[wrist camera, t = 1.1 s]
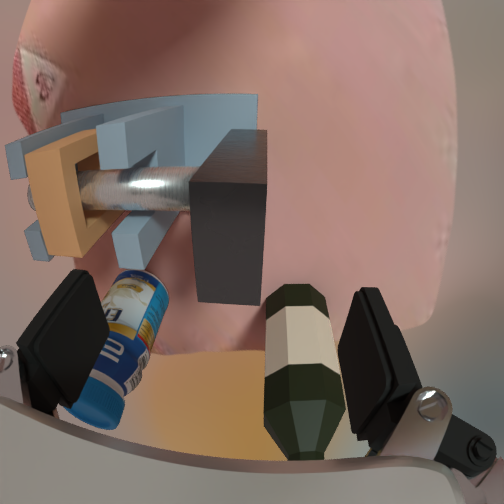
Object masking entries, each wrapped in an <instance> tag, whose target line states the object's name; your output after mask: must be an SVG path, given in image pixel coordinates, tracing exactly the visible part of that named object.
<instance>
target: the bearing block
mask: <svg viewBox="0 0 504 504" xmlns="http://www.w3.org/2000/svg"><path fill="white" fill-rule="evenodd" d="M257 106H258V94H194V95H177V96H163V97H153V98H143V99H135V100H127V101H120V102H113V103H107V104H101V105H95V106H90V107H85V108H80V109H75V110H70V111H66V112H62V113H61V124H60V125H57V126H54V127H51V128H48V129H45V130H42V131H39V132H37V133H34V134H31V135H29V136H26V137H24V138H21V139H19V140H16V141H14V142H11V143H9V144H7V145H5V148H6V155H7V161H8V167H9V172H10V177H11V180H13V179H20V178H27V177H28V173H27V168H26V162H25V156H24V155H26V154H28V153H30V152H32V151H34V150H36V149H39V148H41V147H43V146H45V145H48V144H50V143H52V142H55V141H57V140H60V139H62V138H65V137H67V136H70V135H72V134H75V133H77V132H80V131H83V130H90V129H96V133H97V143H98V152H99V161H100V169H101V170H109V169H127V168H132V167H160V166H201V165H202V164H203V162H204V161H205V160H206V159H207V157H208V156H209V155H210V154H211V153H212V151H213V150H214V149H215V148H216V146H217V145H218V144H219V143H220V142H221V140H222V139H223V138H224V137H225V136H226V134H227V133H228V132H229V131H230V130H231V129H254V130H257ZM75 169H76V171H78V166H77V163H76V164H75ZM179 212H180V211H154V210H132V211H131V212H130V213H129V214H128V216H127V217H126V218H125V219H124V220H123V221H122V222H121V223H120V224H119V225H118V227H117V228H116V229H115V230H114V231H113V232H112V238H113V243H114V247H115V251H116V256H117V260H118V264H119V268H126V269H138V270H145V268H146V266H147V265H148V263H149V261H150V259H151V258H152V256H153V254H154V253H155V251H156V249H157V247H158V246H159V244H160V242H161V241H162V239H163V237H164V236H165V234H166V233H167V231H168V229H169V228H170V226H171V224H172V223H173V221H174V220H175V218H176V216H177V215H178V213H179ZM24 232H25V236H26V239H27V242H28V245H29V248H30V251H31V254H32V257H33V259H34V260H38V261H48V262H49V261H50V260H51V259H52V258H53V257H54V256H55V255H49V254H48V251H47V248H46V245H45V241H44V238H43V235H42V231H41V228H40V224H39V221H38V220H36V221H35V222H34V223H33V224H32V225H30V226H29V227H28V228H27V229H26V230H24Z"/></svg>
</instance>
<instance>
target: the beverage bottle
mask: <svg viewBox="0 0 504 504" xmlns="http://www.w3.org/2000/svg"><path fill="white" fill-rule="evenodd" d="M168 303H169V295H168V291H167V289H166V287H165V286H164V284H163V283H162V282H161V281H160V280H159V279H158V278H157V277H156V276H155V275H153V274H151V273H149V272H147V271H144V270H138V269H128V270H125V271H123V272H122V273H120V274H119V275H118V277H117V278H116V280H115V281H114V283H113V285H112V286H111V288H110V290H109V291H108V293H107V294H106V296H105V297H104V299H103V301H102V302H101V305H102V308H103V311H104V314H105V316H106V319H107V322H108V325H109V328H110V333H109V337H108V339H107V341H106V342H105V344H104V346H103V348H102V350H101V352H100V354H99V356H98V358H97V360H96V363H95V365H94V367H93V369H92V371H91V373H90V375H89V377H88V379H87V381H86V384H85V386H84V388H83V390H82V392H81V394H80V397H79V399H78V401H77V402H76V403H74V404H73V406H72V408H71V409H69V408H66V407H64V408H65V409H66V410H67V411H68V412H69V413H71V414H72V415H73V416H75V417H76V418H78V419H80V420H81V421H83V422H85V423H87V424H90V425H92V426H95V427H97V428H101V429H106V430H113V429H116V427H117V426H118V424H119V422H120V419H121V416H122V413H123V410H124V406H125V400H124V396H126V395H127V394H129V393H130V392H131V391H132V390H134V389H135V388H136V386H137V385H138V384H139V383H140V381H141V378H142V370H143V369H144V368H145V367H146V366H147V364H148V361H149V358H150V352H151V349H152V346H153V343H154V341H155V338H156V335H157V332H158V329H159V327H160V324H161V321H162V319H163V316H164V313H165V311H166V309H167V306H168Z"/></svg>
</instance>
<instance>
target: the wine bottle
mask: <svg viewBox="0 0 504 504" xmlns="http://www.w3.org/2000/svg"><path fill="white" fill-rule="evenodd" d="M264 385H265V386H264V427H265V428H266V430H267V431H268V433H269V434H270V435H271V437H272V439H273V440H274V441H275V443H276V444H277V445H278V447H279V448H280V450H281V451H282V452H283V454H284V455H285V457H286V458H287V459H288V461H308V460H324V452H325V450H326V448H327V446H328V444H329V443H330V441H331V439H332V437H333V435H334V433H335V431H336V428H337V427H338V425H339V422H340V420H341V418H342V416H343V414H344V412H345V410H346V408H345V401H344V395H343V389H342V383H341V377H340V371H339V365H338V360H337V355H336V349H335V344H334V339H333V334H332V329H331V324H330V319H329V314H328V309H327V305H326V300H325V297H324V296H323V295H322V294H321V293H319V292H318V291H317V290H316V289H315V288H314V287H312V286H311V285H310V284H284V285H283V286H281V287H280V288H279V289H277V290H276V291H275V292H274V293H272V294H271V295H270V296H268V297H267V298H266V345H265V384H264Z"/></svg>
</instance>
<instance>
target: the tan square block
mask: <svg viewBox="0 0 504 504" xmlns="http://www.w3.org/2000/svg"><path fill="white" fill-rule="evenodd" d="M24 156H25V162H26V168H27V173H28V178H29V183H30V188H31V192H32V197H33V201H34V205H35V209H36V213H37V217H38V221H39V224H40V228H41V231H42V235H43V238H44V241H45V245H46V248H47V251H48V254H49V255H55V256H68V257H80V258H83V256H84V255H85V254H86V253H87V252H88V251H89V249H90V248H91V247H92V246H93V245H94V244H95V243H96V241H97V240H98V239H99V238H100V237H101V236H102V235H103V234H104V233H105V231H106V230H107V229H108V228H109V227H110V226H111V225H112V224H113V223H114V222H115V221H116V220H117V219H118V217H119V216H120V215H121V214H122V213H123V212H124V211H125V210H83V208H82V203H81V198H80V192H79V187H78V181H77V175H76V169H75V164H76V163H77V166H78V171H86V170H98V169H100V161H99V152H98V143H97V133H96V129H90V130H83V131H80V132H77V133H75V134H72V135H70V136H67V137H65V138H62V139H60V140H57V141H55V142H52V143H50V144H48V145H45V146H43V147H41V148H39V149H36V150H34V151H32V152H30V153H28V154H26V155H24Z"/></svg>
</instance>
